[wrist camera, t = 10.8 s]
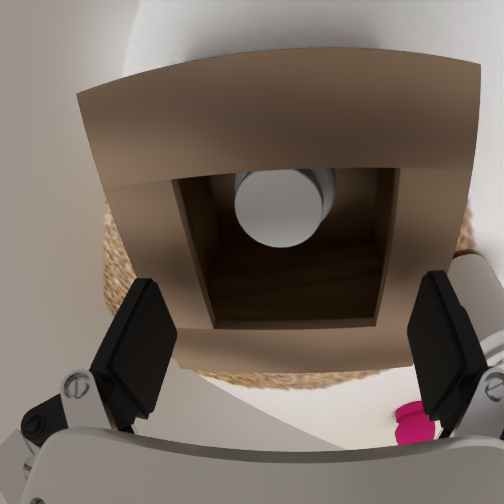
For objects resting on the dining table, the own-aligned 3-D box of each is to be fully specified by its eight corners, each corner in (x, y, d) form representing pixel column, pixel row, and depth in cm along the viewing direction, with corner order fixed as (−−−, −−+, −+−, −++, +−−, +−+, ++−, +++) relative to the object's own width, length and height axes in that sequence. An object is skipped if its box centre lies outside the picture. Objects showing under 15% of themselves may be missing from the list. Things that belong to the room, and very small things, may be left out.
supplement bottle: (242, 149, 23) (194, 195, 14) (301, 106, 20) (289, 123, 12) (286, 205, 24) (266, 279, 16) (346, 168, 22) (361, 225, 13)
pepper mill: (384, 416, 47) (390, 519, 31) (411, 397, 43) (423, 510, 27) (412, 418, 48) (421, 513, 32) (438, 401, 44) (453, 503, 28)
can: (413, 286, 29) (444, 388, 20) (464, 235, 25) (520, 332, 15) (450, 311, 31) (480, 401, 21) (496, 269, 27) (542, 356, 17)
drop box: (183, 63, 19) (76, 93, 9) (381, 50, 17) (480, 64, 7) (218, 245, 29) (180, 368, 18) (375, 240, 27) (411, 365, 16)
